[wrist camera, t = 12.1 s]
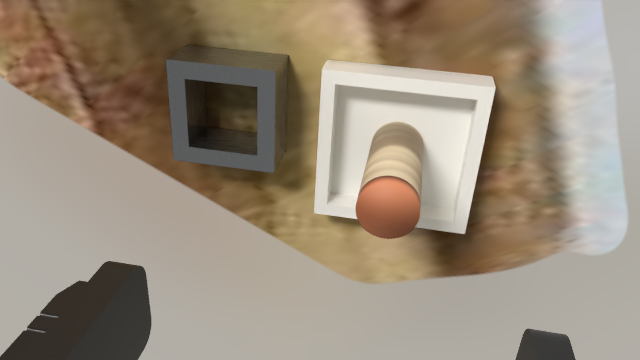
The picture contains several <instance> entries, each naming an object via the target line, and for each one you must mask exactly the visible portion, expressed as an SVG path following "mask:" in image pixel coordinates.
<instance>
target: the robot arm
mask: <svg viewBox="0 0 640 360" xmlns="http://www.w3.org/2000/svg"><path fill="white" fill-rule="evenodd" d="M150 330H151V313H150V305H149V295H148V287H147V279H146V273H145V270H144V268H143V267H142V266H137V265H131V264H125V263H118V262H111V261H108V262H105V263H104V264H103V265H102V266H101V267H100V268H99V270H98V271H97V272H96V273H95V274H94V275H93V277H92V278H91V279H90V280H89V281H88V282H85V281H78V282H76V283H75V284H73V285H71V286H70V287H68V288H66V289H65V290H63V291H61V292H60V293H58V294H57V295H56V296H55V297H54V298H53V299H52V300H51V301H50V302H49V303H48V305H47V306H46V307H45V308H44V309H43V310H42V311H41V313H40V316H37V317H36V318H35V319H34V320H33V321H32V322H31V323H30V324H29V326H28V327H27V330H26V331H23V332H22V333H21V334H20V336H19V337H18V338H17V339H16V340H15V341H14V342H13V343H12V344H11V346H10V347H9V348H8V349H7V350H6V351H5V352H4V353H3V354H2V355H1V357H0V360H138V358H139V357H140V355H141V353H142V352H143V350H144V348H145V346H146V344H147V341H148V339H149V335H150ZM516 360H575V357H574V353H573V350H572V346H571V343H570V340H569V338H568V336H567V335H564V334H558V333H551V332H546V331H539V330H533V329H526V330H525V332H524V334H523V337H522V340H521V343H520V347H519V350H518V353H517V357H516Z"/></svg>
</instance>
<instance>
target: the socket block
mask: <svg viewBox="0 0 640 360" xmlns="http://www.w3.org/2000/svg"><path fill="white" fill-rule="evenodd" d="M288 57H289V55H282V54H272V53H262V52H253V51H243V50H233V49H224V48H214V47H205V46H195V45H186V46H185V47H183V48H182V49H180V50H179V51H177V52H176V53H174V54H173V55H171V56H170V57H168V58H167V59H166V68H167V80H168V93H169V105H170V118H171V130H172V143H173V155H174V160H178V161H185V162H193V163H201V164H208V165H216V166H223V167H231V168H239V169H246V170H254V171H261V172H269V173H274V172H275V170H276V169H277V167H278V165H279V163H280V161H281V159H282V158H283V156H284V154H285V152H286V133H287V95H288ZM205 81H208V82H217V83H226V84H235V85H244V86H253V87H257V133H254V132H246V131H238V130H229V129H221V128H213V127H207V114H206V93H205Z"/></svg>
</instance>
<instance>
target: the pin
mask: <svg viewBox="0 0 640 360" xmlns="http://www.w3.org/2000/svg"><path fill="white" fill-rule="evenodd" d="M423 150H424V143H423V139H422V136H421V135H420V133H419V132H418V131H417V129H415V128H414V127H413V126H411V125H409V124H407V123H403V122H391V123H388V124H385V125H383V126H382V127H380V128H379V129H378V130H377V131H376V133H375V134H374V136H373V139H372V143H371V147H370V151H369V155H368V159H367V163H366V167H365V171H364V175H363V178H362V182H361V186H360V190H359V194H358V198H357V202H356V216H357V219H358V221H359V223H360V224H361V226H362V227H363V228H364V229H365V230H366V231H368V232H369V233H371V234H372V235H375V236H377V237H380V238H387V239H392V238H398V237H402V236H404V235H406V234H408V233H409V232H411V231H412V230H413V229H414V228H415V226H416V225H417V223H418V221H419V218H420V208H421V188H422V169H423Z"/></svg>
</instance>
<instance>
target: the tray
mask: <svg viewBox="0 0 640 360" xmlns="http://www.w3.org/2000/svg"><path fill="white" fill-rule="evenodd" d="M495 88H496V87H495V84H494V80H493V77H492V76H484V75H474V74H465V73H455V72H445V71H436V70H426V69H416V68H407V67H397V66H388V65H378V64H368V63H359V62H349V61H339V60H330V59H328V60H327V62H326V63H325V65H324V67H323V68H322V79H321V97H320V115H319V133H318V151H317V169H316V187H315V205H314V213H317V214H324V215H331V216H338V217H345V218H353V219H357V216H356V202H357V198H358V194H359V190H360V186H361V182H362V178H363V175H364V171H365V167H366V163H367V159H368V155H369V151H370V147H371V143H372V139H373V136H374V134H375V133H376V131H377V130H378V129H379V128H380V127H382V126H383V125H385V124H388V123H391V122H403V123H407V124H409V125H411V126H413V127H414V128H415V129H417V131H418V132H419V133H420V135H421V136H422V139H423V143H424V150H423V169H422V188H421V208H420V218H419V221H418V223H417V225H416V226H415V227H417V228H424V229H431V230H438V231H446V232H453V233H460V234H465V231H466V226H467V222H468V217H469V212H470V207H471V203H472V198H473V193H474V188H475V184H476V179H477V174H478V169H479V165H480V160H481V155H482V150H483V146H484V141H485V136H486V131H487V127H488V122H489V117H490V112H491V108H492V103H493V98H494V93H495Z"/></svg>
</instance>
